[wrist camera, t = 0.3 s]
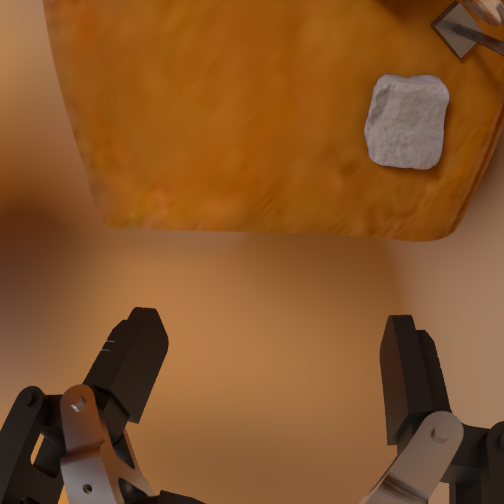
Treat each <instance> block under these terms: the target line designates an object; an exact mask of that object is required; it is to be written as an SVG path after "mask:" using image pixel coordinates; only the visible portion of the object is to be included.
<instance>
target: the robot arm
mask: <svg viewBox="0 0 504 504" xmlns="http://www.w3.org/2000/svg"><path fill="white" fill-rule="evenodd" d="M168 344H169V342H168V336H167V333H166V331H165V329H164V326H163V324H162V321H161V319H160V316H159V314H158V312H157V310H156V309H154V308H142V307H136V308H134V309H133V310H132V312H131V314H130V316H129V317H128V319H127V320H122V321H121V322H120V323H119V324H118V325H117V326H116V327H115V328H113V330H112V332H111V333H110V335H109V337H108V339H107V342H105V344H104V346H103V347H102V351H100V353H99V355H98V356H97V358H96V360H95V362H94V363H93V365H92V367H91V369H90V371H89V373H88V375H87V376H86V378H85V380H84V382H83V383H82V384H79V385H74V386H72V387H70V388H69V389H67V391H65V392H64V394H62V395H45V394H44V393H43V392H42V391H41V389H40V388H38V387H36V386H29V387H27V388H25V389H23V390H22V391H21V392H20V393H19V395H18V397H17V398H16V400H15V402H14V404H13V406H12V408H11V410H10V412H9V414H8V416H7V418H6V420H5V423H4V425H3V427H2V429H1V431H0V504H58V501H59V498H60V495H61V491H62V488H63V486H64V485H65V489H66V493H67V497H68V501H69V504H205V503H203V502H201V501H199V500H196V499H194V498H192V497H187V496H183V495H179V494H174V493H170V492H167V491H163V490H161V491H160V495H157V496H155V495H154V492H153V490H152V488H151V486H150V484H149V483H148V481H147V480H146V478H145V477H144V476H143V474H142V472H141V471H140V468H139V466H138V462H137V460H136V457H135V454H134V451H133V448H132V445H131V442H130V440H129V436H128V433H127V431H126V429H125V426H126V423H127V421H129V422H133V423H137V424H138V423H139V421H140V418H141V416H142V413H143V410H144V408H145V405H146V403H147V400H148V398H149V395H150V393H151V390H152V388H153V385H154V383H155V380H156V378H157V376H158V373H159V371H160V368H161V366H162V363H163V361H164V358H165V356H166V354H167V350H168ZM437 355H438V354H437V351H436V347H435V343H434V341H433V340H432V338H431V337H430V336H429V334H428V333H427V332H426V331H425V330H416V329H415V325H414V321H413V318H412V316H411V315H390V316H389V317H388V319H387V324H386V327H385V331H384V335H383V339H382V342H381V346H380V367H381V375H382V384H383V393H384V403H385V415H386V429H387V445H397V453H398V454H397V456H396V457H395V458H394V460H393V461H392V463H391V464H390V465H389V467H388V468H387V470H386V471H385V472H384V473H383V475H382V476H381V477H380V479H379V480H378V481H377V482H376V484H375V485H374V486H373V487H372V489H371V490H370V491H369V492H368V493H367V495H366V496H365V497H364V498H363V499H362V500H361V501H360V503H359V504H428V499H429V497H430V496H431V494H432V492H433V491H434V489H435V488H436V486H437V484H438V483H439V482H444V483H449V504H504V421H502V422H499V423H497V424H495V425H494V426H493V427H492V428H491V429H486V428H480V427H473V426H468V425H465V424H463V423H462V422H461V421H460V420H459V419H458V418H457V417H456V416H455V415H454V414H453V413H452V411H451V409H450V405H449V400H448V395H447V391H446V386H445V382H444V378H443V374H442V370H441V368H440V362H439V358H438V357H437ZM40 433H41V434H42V435H43V436H44V439H43V442H42V444H41V447H40V449H39V451H38V454H37V457H36V459H35V462H34V463H33V465H32V464H31V461H30V460H31V454H32V452H33V449H34V446H35V444H36V442H37V440H38V437H39V435H40Z"/></svg>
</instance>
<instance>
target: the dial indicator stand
mask: <svg viewBox="0 0 504 504" xmlns="http://www.w3.org/2000/svg"><path fill="white" fill-rule="evenodd" d="M463 1H464V2H465V4H466V5H467V6H468V7H469V8H470V9H471V10H472V11H473V12H474V13H475V14H476V15H477V16H479V17H480V18H481V19H482V20H484V21H485V22H487V23H488V24H490V25H492V26H499V25H500V24H501V23H503V25H504V5H503V3H502V2H501V0H463ZM430 26H431V27H432V28H433V29H434V30H435V31H436V32H437V33H438V35H439V36H440V37H441V38H442V39H443V40H444V42H445V43H446V44H447V45H448V46H449V48H450V49H451V50H452V51H453V53H454V54H455V55H456V56H457V57H459V58H462V57H463V56H464V55H465V54H466V53H467V52H468V51H469V50H470V49H471V48H472V47H473V46H474V45H475V44H476V43H478V44H480V45H482V46H484V47H487V48H489V49H491V50H493V51H495V52H497V53H499V54H501V55H503V56H504V42H503V41H500V40H498V39H496V38H493V37H491V36H489V35H486V34H484V33H483V32H482V30H481V29H480V28H479V26H478V25H477V24H476V22H475V21H474V20H473V18H472V17H471V16H470V14H469V13H468V12H467V10H466V9H465V8H464V7H463V5H462V4H461V3H460V2H456V1H454V2H453V3H452V4H451V5H450V6H449V7H448V8H447V9H446V10H445V11H444V12H443V13H442V14H441V15H440V16H439V17H438V18H437V19H436V20H435V21H434V22H433V23H432V24H431V25H430Z"/></svg>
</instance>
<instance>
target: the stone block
mask: <svg viewBox="0 0 504 504" xmlns="http://www.w3.org/2000/svg"><path fill="white" fill-rule="evenodd" d="M448 103H449V92H448V89H447V87H446V86H445V85H444V83H443V82H442V81H441V79H440V78H437V77H435V76H432V75H420V76H412V77H410V78H405V77H401V76H398V75H389V74H385V75H383V76H382V77H381V78H379V80H378V81H377V84H376V85H375V87H374V91H373V95H372V101H371V106H370V109H369V114H368V118H367V121H366V126H365V130H364V133H365V139H366V141H367V146H368V155H369V157H370V159H372V161H374V162H376V163H377V164H380V165H384V166H394V167H401V168H415V169H420V170H425V169H430V168H431V167H432V166H433V165H436V164H437V163H438V162H439V159H440V156H441V153H442V147H443V138H444V117H445V114H446V108H447V105H448Z"/></svg>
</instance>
